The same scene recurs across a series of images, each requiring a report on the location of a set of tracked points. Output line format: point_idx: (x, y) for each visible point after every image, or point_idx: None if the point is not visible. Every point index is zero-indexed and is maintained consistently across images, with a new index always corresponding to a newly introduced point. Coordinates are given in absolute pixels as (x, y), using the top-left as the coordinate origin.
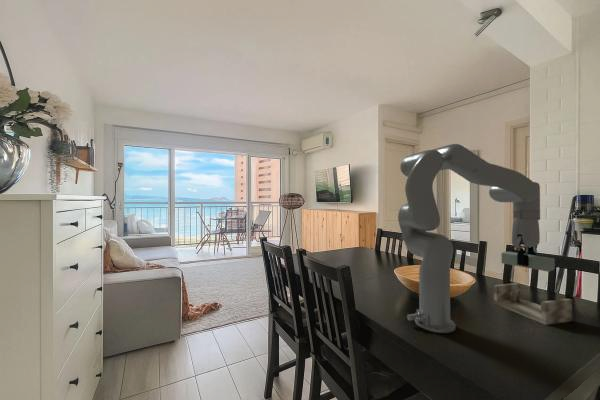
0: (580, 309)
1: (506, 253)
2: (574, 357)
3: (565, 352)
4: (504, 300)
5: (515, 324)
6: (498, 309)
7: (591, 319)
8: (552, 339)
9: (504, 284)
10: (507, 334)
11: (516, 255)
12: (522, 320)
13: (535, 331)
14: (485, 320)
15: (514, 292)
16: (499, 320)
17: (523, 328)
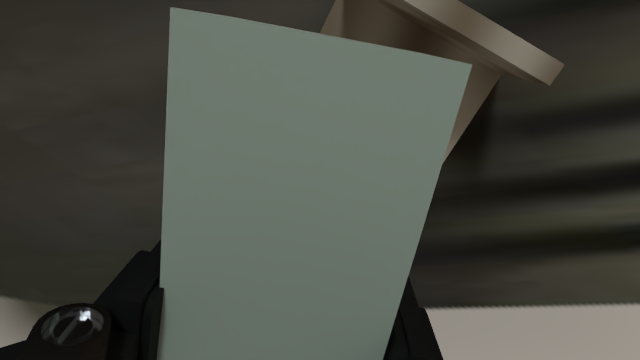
0: (560, 271)
1: (191, 102)
2: (42, 284)
3: (52, 266)
4: (387, 15)
5: (143, 117)
6: (276, 12)
7: (449, 302)
8: (120, 232)
9: (445, 2)
10: (8, 116)
11: (163, 259)
12: None
13: (140, 184)
14: (63, 6)
15: (477, 54)
16: (125, 56)
17: (129, 148)
